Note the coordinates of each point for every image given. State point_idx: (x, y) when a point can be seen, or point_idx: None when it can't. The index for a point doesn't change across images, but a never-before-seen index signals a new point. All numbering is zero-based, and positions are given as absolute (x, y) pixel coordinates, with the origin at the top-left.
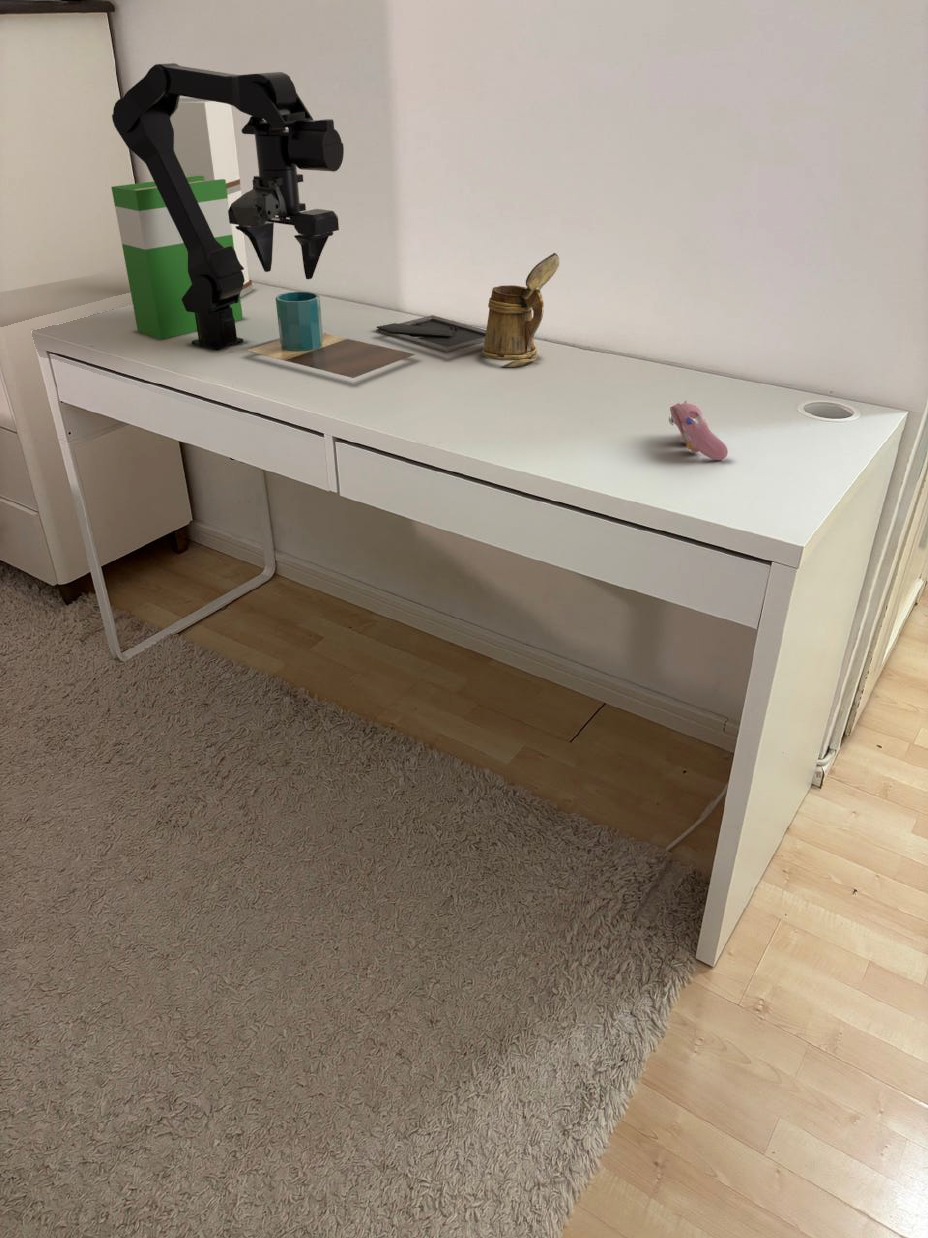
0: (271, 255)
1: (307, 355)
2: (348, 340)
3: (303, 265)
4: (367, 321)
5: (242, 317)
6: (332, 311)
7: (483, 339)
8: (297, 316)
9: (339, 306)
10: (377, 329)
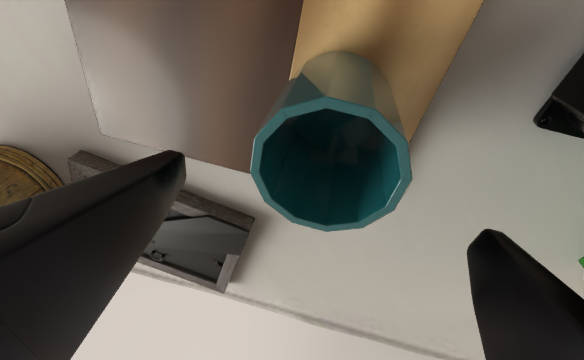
0: (484, 335)
1: (276, 31)
2: None
3: (131, 183)
4: (319, 279)
5: (580, 263)
6: (400, 308)
7: None
8: (295, 86)
9: (399, 325)
10: (247, 228)
